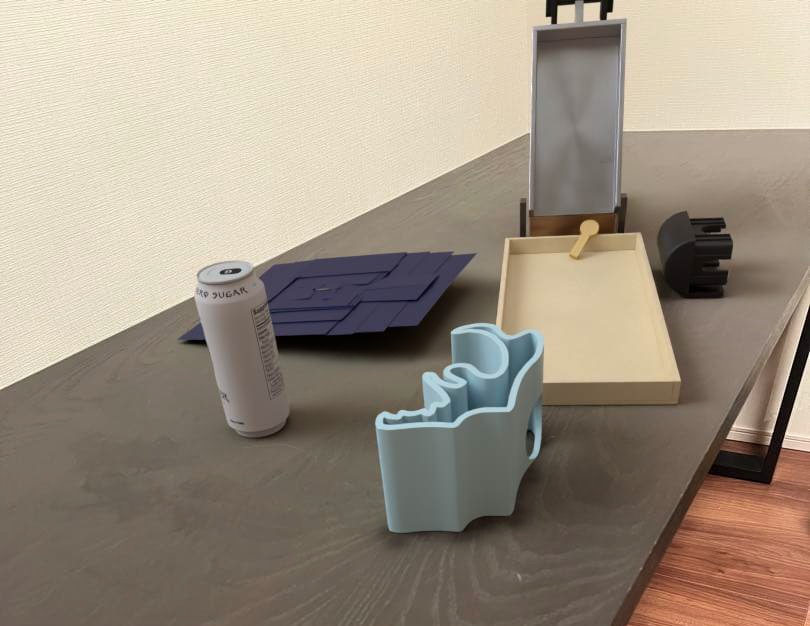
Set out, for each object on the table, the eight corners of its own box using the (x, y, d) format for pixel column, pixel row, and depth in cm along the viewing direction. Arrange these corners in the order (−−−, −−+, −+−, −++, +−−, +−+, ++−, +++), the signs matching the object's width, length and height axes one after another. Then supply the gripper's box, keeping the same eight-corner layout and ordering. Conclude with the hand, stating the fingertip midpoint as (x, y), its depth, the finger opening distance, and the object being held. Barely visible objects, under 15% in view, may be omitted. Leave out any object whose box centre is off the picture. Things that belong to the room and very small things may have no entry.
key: (585, 219, 102) (585, 216, 101) (602, 225, 101) (602, 223, 101) (564, 254, 101) (564, 252, 100) (581, 261, 100) (581, 259, 100)
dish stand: (613, 200, 119) (617, 157, 115) (623, 244, 104) (627, 197, 100) (522, 204, 121) (523, 162, 117) (519, 248, 106) (519, 202, 103)
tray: (639, 251, 102) (641, 232, 100) (677, 404, 72) (681, 381, 71) (505, 256, 105) (505, 237, 103) (489, 405, 75) (489, 383, 73)
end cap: (653, 267, 97) (659, 210, 93) (713, 266, 96) (723, 208, 92) (659, 300, 90) (666, 240, 86) (724, 299, 89) (735, 238, 84)
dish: (624, -5, 97) (628, -20, 94) (617, 213, 100) (620, 206, 97) (533, 3, 99) (533, -12, 96) (528, 217, 102) (528, 210, 99)
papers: (415, 358, 81) (408, 324, 79) (183, 362, 93) (172, 333, 91) (484, 269, 98) (480, 240, 96) (281, 283, 110) (273, 257, 108)
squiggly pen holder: (507, 547, 59) (506, 441, 53) (382, 530, 62) (369, 428, 56) (548, 423, 72) (552, 326, 66) (444, 413, 75) (438, 320, 69)
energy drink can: (236, 410, 79) (198, 260, 69) (295, 406, 78) (265, 255, 69) (223, 442, 74) (181, 287, 64) (286, 438, 73) (253, 281, 64)
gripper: (666, -183, 87) (647, 13, 98) (510, -166, 90) (509, 23, 101) (675, -187, 81) (653, 21, 93) (508, -169, 84) (507, 32, 95)
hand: (578, 20), depth 97 cm, fingers closed on dish, 5 cm apart
